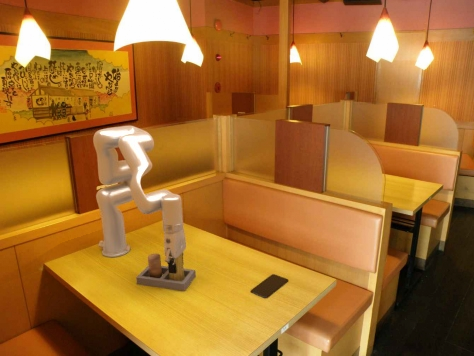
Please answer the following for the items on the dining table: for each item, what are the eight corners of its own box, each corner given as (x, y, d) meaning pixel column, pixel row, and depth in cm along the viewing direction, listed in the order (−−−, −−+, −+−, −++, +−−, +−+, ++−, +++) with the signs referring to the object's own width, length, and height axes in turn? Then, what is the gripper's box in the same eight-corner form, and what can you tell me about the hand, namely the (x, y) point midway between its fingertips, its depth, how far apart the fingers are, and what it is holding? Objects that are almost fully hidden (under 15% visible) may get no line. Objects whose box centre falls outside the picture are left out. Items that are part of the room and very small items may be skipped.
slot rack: (136, 284, 151) (136, 277, 151) (150, 270, 161) (149, 264, 161) (184, 291, 146) (184, 284, 145) (195, 276, 156) (195, 270, 155)
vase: (181, 283, 148) (179, 250, 145) (166, 282, 150) (164, 248, 146) (186, 275, 154) (184, 243, 150) (172, 274, 155) (170, 242, 152)
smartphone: (266, 300, 139) (289, 281, 151) (266, 298, 139) (289, 279, 151) (249, 293, 144) (272, 275, 156) (248, 290, 144) (272, 273, 156)
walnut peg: (147, 281, 153) (145, 258, 151) (153, 275, 158) (151, 253, 155) (158, 282, 152) (156, 260, 149) (164, 276, 156) (162, 254, 154)
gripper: (172, 236, 137) (175, 281, 142) (191, 218, 153) (193, 259, 158) (153, 234, 139) (157, 278, 144) (174, 217, 155) (176, 257, 160)
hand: (176, 268), depth 151 cm, fingers closed on vase, 5 cm apart
